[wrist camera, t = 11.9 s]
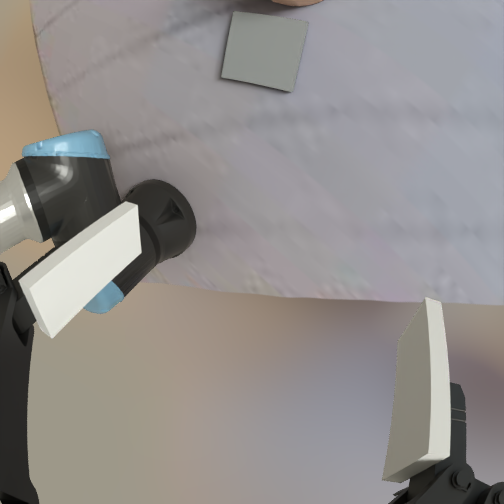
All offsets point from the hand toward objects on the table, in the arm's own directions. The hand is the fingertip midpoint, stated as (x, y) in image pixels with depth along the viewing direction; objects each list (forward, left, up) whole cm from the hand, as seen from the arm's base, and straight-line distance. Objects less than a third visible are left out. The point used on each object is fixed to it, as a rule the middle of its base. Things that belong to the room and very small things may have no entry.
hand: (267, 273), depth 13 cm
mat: (-13, +9, -31) cm, 35 cm away
